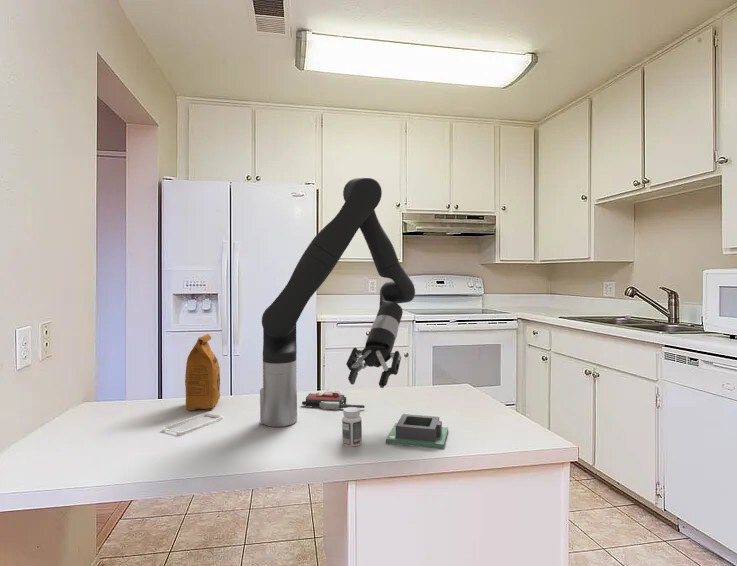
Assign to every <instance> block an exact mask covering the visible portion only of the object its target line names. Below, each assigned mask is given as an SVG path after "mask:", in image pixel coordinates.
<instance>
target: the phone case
mask: <svg viewBox="0 0 737 566" xmlns="http://www.w3.org/2000/svg"><path fill="white" fill-rule="evenodd" d="M202 417H211V418H214V419H211V420H209V421H206V422H203V423H201V424H198V425H195V426H193V427H190V428H187V429H186V430H182V431H179V430H173V428H176V427H178V426H181V425H183V424H184V425H185V424H186V423H189V422H192V421H194V420H197V419H200V418H202ZM222 420H224V416H223V415H220V414H214V413H211V412H203V413H201V414H198V415H197V414H196V415H195V416H192V417H189V418H187V419H183V420H181V421H178V422H175V423H173V424H170V425H167V426H164V427H162V430H161V431H162V432H163V433H166V431H167V432H172V433H175V434H176V435H177V436H184V435H186V434H189V433H192V432H194V431H197V430H200V429H202V428H205V427H207V426H209V424H210V423H213V422H216V421H219V422H220V421H222Z"/></svg>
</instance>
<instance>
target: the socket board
mask: <svg viewBox="0 0 737 566" xmlns="http://www.w3.org/2000/svg"><path fill="white" fill-rule="evenodd" d="M442 424H443V422H442V421H441V420H440V416H431V415H421V414H419V415H418V414H406V413H403V414H402V415H401V417H400V418H399V419H398V422H395V424H394V425H393V426H392V428H391V430H390V431H389V433H388V435H387V436H386V437H385V443H386V444H390V443H394V444H393V445H401V444H403V445H402V446H411V445H412V446H413V447H421V446H422V448H432V447H433V448H434V449H442V448H444V449H445V446H444V445H446V442H447V437H448V433H449V427H448V426H447V427H446V426H443V425H442Z"/></svg>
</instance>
